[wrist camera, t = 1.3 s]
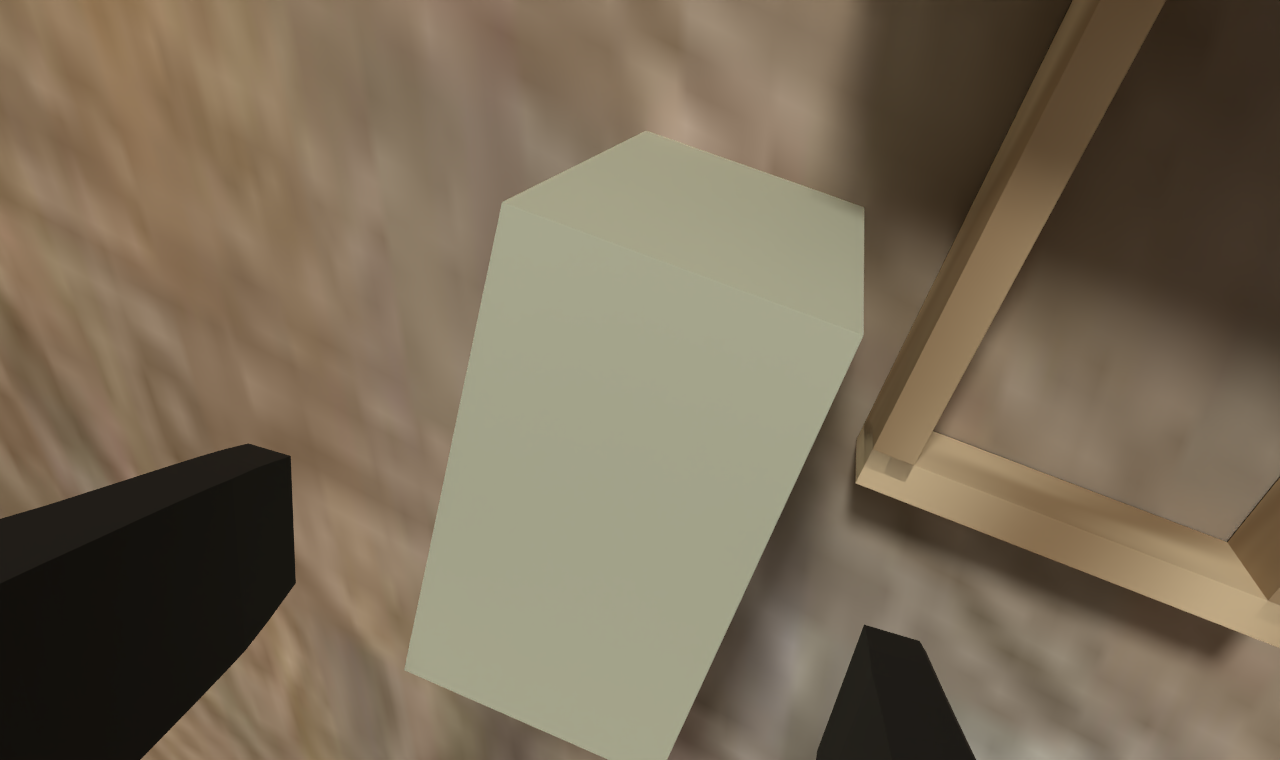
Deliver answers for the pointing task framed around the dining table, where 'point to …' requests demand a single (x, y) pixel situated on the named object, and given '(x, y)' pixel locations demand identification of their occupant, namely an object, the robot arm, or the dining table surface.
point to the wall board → (959, 318)
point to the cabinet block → (631, 434)
